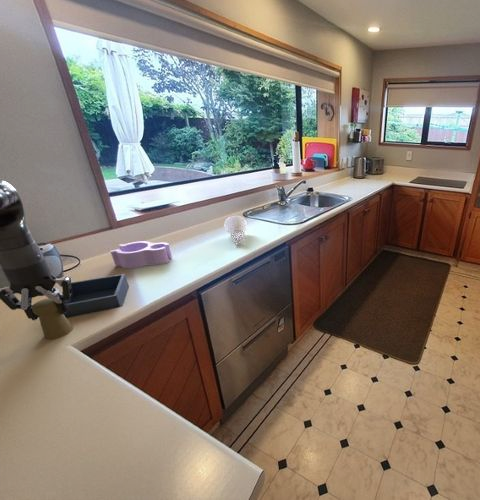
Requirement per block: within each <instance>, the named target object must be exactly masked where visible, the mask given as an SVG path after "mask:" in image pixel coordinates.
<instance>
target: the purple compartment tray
mask: <svg viewBox="0 0 480 500" xmlns="http://www.w3.org/2000/svg"><path fill="white" fill-rule="evenodd" d="M118 246H119V247H118V248H117V249H112V250H110V254H111V257H112V260H113V263H114V266H115V267H122V268H123V269H137V268H142V267H145V266H151V265H155V266H159V265H164V264H168V263H169V262H170V260H171V259H173V256H172V251H171V247H170V243H168V242H163V241H161V242H150V241H146V240H145V241H144V240H143V241H132V242H129V243H119V244H118Z"/></svg>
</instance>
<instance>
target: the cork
mask: <svg viewBox="0 0 480 500" xmlns="http://www.w3.org/2000/svg"><path fill="white" fill-rule="evenodd" d="M56 304H57V303H56V302H55V301H53V300H52V299H49V298H48V297H47V298H44V299H43V298H42V299H40V300H38V301H37V302H35V303H34V304H32V305H33V306H32V311H33V313H34V314H36V315H38V316H39V317H38V319H39V322H40V326H41V329H42V334H43V337H44V339H46V340H49V341H50V340H56V339H60V338H62V337H65V336H66V335H68V334H70V333H71V332H72V331H73V330H74V327H73V325H72V324H71V322H70V321H69V320H68V318H66V317H65V316H64V314H61V313H60V311H59V309H58V307H57V305H56Z"/></svg>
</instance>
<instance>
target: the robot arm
mask: <svg viewBox="0 0 480 500" xmlns="http://www.w3.org/2000/svg"><path fill="white" fill-rule="evenodd" d="M0 270H1V272H2V273H3V275H4V277H5V279H6V281H7V282H8V283H9V286H1V287H0V300H1V301H2V302H3V303H4V304H5V305H6V306H7V307H8V308H9V309H10V310H11V311H15V310H23V312H24V314H26V315H25V316H26V317H27V318H28V319H29V320H31V321H37V320H38V319H39V316H38V315H36V314H34V313H33V311H32V306H33V305H34V304H32V303H33V298H37V297H44V296H45V297H46V298H47V299H48V298H49V299H52V300H53V301H55V302H56V303H57V304H56V305H57V307H58V309H59V311H60V313H61V314H65V313H66V312H67V310H68V309H69V306H68V304H67V302H66V300H68V299H70V297H71V295H72V285H71V282H72V278H71V276H65V277H63V278H62V277H61V278H57V277H56V276H54V275H53V274H52V271H51V269H50V267H49V265H48V262H47V260H46V258H45V256H44V255H43V252H42V250H41V249H40V247H39V245H38V244H37V242H36V241H35V239H34V236H33V234H32V233H31V230H30V229H29V227H28V225H27V221H26V214H25V209H24V204H23V201H22V198H21V195H20V194H19V192H18V190H17V189H16V188H15V187H14V186H13V185H11V184H10V183H9V182H7V181H5V180H2V179H0ZM56 284H58V286H59V287H60V288H61V289H62V292H63V294H61V293H62V292H60V290H59V289H58V288H57V287H56V286H55V285H56ZM14 293H17V294H19V295H21V296H20V299H18V297H17V296H16V295H14Z"/></svg>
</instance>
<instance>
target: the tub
mask: <svg viewBox="0 0 480 500" xmlns="http://www.w3.org/2000/svg"><path fill="white" fill-rule="evenodd" d="M71 285H72V295H71V297H70V299H68V300H66V302H67V304H68V306H69V309H68V310H67V312H66V313H65V314H64V316H65V317H66V318H67V319H69V318H74V317H79V316H83V315H88V314H93V313H97V312H103V311H108V310H113V309H118V308H122V307H123V306H124V303H125V300H126V298H127V297H126V296H127V294H128V291H129V288H130V285H129V281H128V279H127V276H126V274H125V273H121V274H115V275H108V276H103V277H96V278H90V279H85V280H79V281H77V280H76V281H71ZM60 293H61V294H63V291H62V292H60Z"/></svg>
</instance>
